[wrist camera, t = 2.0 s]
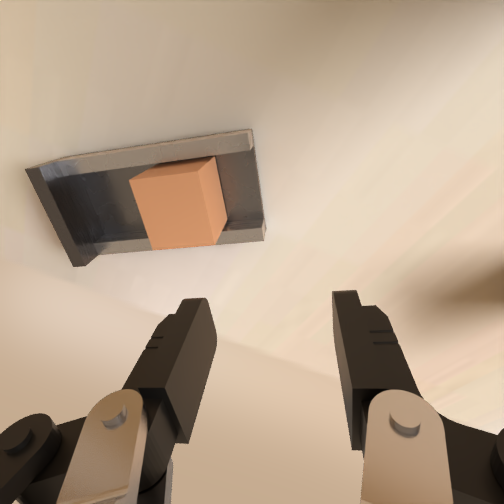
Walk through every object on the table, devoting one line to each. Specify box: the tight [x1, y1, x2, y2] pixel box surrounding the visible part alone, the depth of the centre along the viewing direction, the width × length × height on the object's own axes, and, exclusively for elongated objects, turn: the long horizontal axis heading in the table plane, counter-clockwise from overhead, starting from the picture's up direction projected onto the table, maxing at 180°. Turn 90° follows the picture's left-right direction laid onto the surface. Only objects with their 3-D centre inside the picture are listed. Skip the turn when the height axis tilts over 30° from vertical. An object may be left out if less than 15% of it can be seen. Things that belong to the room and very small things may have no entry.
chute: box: [25, 129, 266, 267], centre depth 25 cm, size 17×9×4 cm, turn 99°
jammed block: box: [129, 156, 227, 250], centre depth 24 cm, size 5×6×5 cm
